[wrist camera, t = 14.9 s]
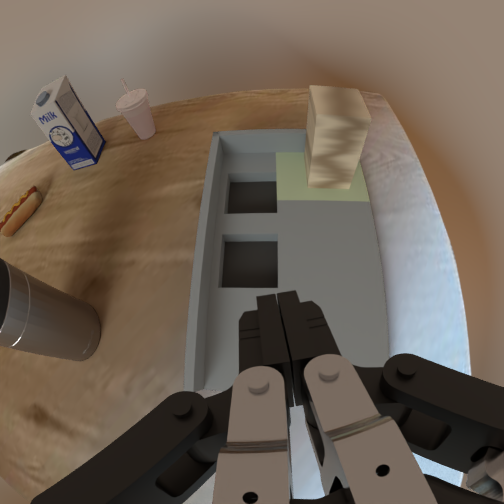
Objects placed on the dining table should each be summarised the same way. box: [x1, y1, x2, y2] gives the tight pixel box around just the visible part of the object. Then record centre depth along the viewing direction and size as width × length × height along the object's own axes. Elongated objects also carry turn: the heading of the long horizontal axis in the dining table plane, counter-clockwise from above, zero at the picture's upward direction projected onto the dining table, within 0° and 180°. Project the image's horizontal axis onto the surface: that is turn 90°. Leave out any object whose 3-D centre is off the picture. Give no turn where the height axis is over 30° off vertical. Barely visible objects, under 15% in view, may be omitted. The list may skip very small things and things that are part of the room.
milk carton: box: [30, 75, 105, 170], centre depth 39 cm, size 7×7×20 cm
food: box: [0, 186, 42, 237], centre depth 42 cm, size 14×6×5 cm, turn 131°
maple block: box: [304, 85, 372, 189], centre depth 31 cm, size 6×6×13 cm
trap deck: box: [184, 129, 389, 392], centre depth 32 cm, size 22×34×6 cm, turn 178°
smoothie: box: [116, 79, 156, 139], centre depth 42 cm, size 6×6×14 cm
